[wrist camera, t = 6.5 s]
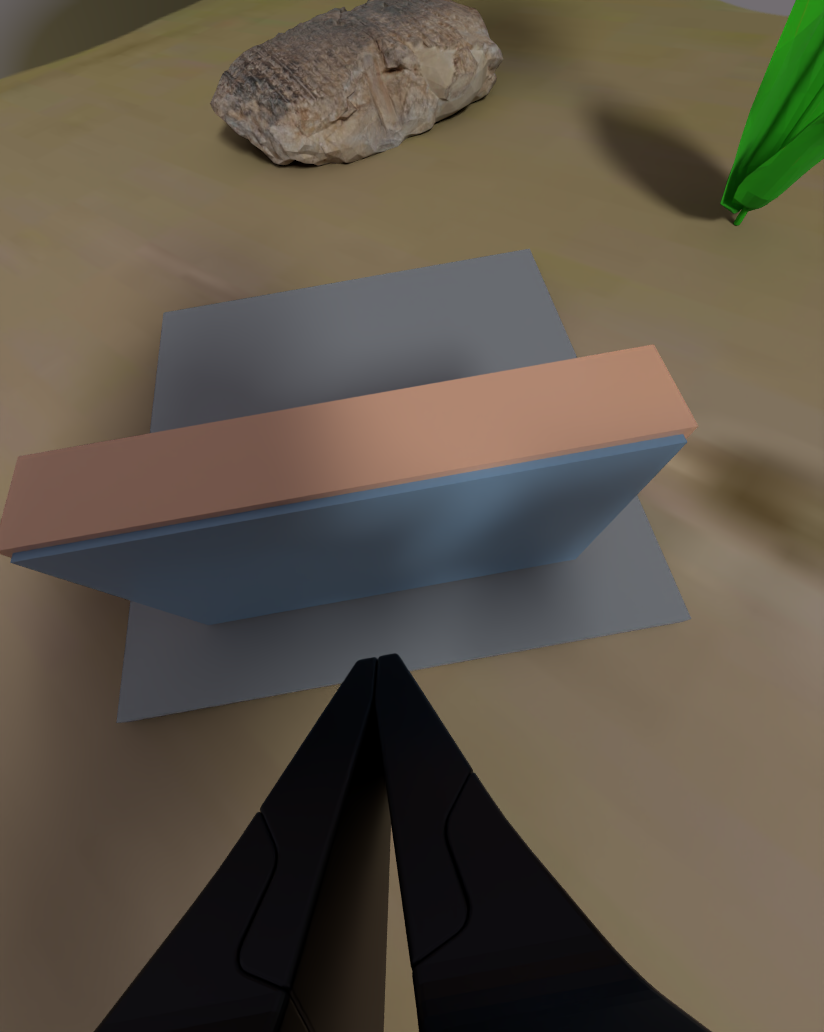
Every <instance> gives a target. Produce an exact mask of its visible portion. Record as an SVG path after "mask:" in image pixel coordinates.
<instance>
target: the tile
mask: <svg viewBox="0 0 824 1032" xmlns="http://www.w3.org/2000/svg"><path fill="white" fill-rule="evenodd" d="M697 427H698V424H697V423H696V421H695V419H694V417H693V415H692V413H691V412H690V410H689V408H688V406H687V404H686V402H685V401H684V399H683V397H682V395H681V393H680V392H679V390H678V388H677V386H676V384H675V382H674V381H673V379H672V377H671V375H670V373H669V371H668V370H667V368H666V366H665V364H664V362H663V360H662V359H661V357H660V355H659V353H658V351H657V349H656V348H655V346H654V344H653V345H648V346H642V347H636V348H631V349H625V350H619V351H614V352H608V353H602V354H597V355H591V356H585V357H580V358H574V359H568V360H563V361H557V362H551V363H546V364H540V365H534V366H529V367H523V368H517V369H512V370H506V371H500V372H495V373H489V374H483V375H478V376H472V377H466V378H461V379H455V380H449V381H444V382H438V383H432V384H427V385H421V386H415V387H410V388H404V389H398V390H393V391H387V392H381V393H376V394H370V395H364V396H359V397H353V398H347V399H342V400H336V401H330V402H325V403H319V404H313V405H308V406H302V407H296V408H291V409H285V410H279V411H274V412H268V413H262V414H257V415H251V416H245V417H240V418H234V419H228V420H223V421H217V422H211V423H206V424H200V425H194V426H189V427H183V428H177V429H172V430H166V431H160V432H155V433H149V434H143V435H138V436H132V437H126V438H121V439H115V440H109V441H104V442H98V443H92V444H87V445H81V446H75V447H70V448H64V449H58V450H53V451H47V452H41V453H36V454H30V455H24V456H19V457H18V459H17V463H16V466H15V470H14V474H13V478H12V481H11V485H10V489H9V493H8V496H7V500H6V504H5V508H4V511H3V515H2V519H1V523H0V554H1V555H5V556H8V557H11V562H10V563H13V564H16V565H19V566H23V567H26V568H29V569H32V570H35V571H38V572H42V573H45V574H48V575H51V576H54V577H57V578H61V579H64V580H67V581H70V582H73V583H76V584H80V585H83V586H86V587H89V588H92V589H95V590H99V591H102V592H105V593H108V594H111V595H114V596H117V597H121V598H124V599H127V600H130V601H133V602H136V603H140V604H143V605H146V606H149V607H152V608H155V609H159V610H162V611H165V612H168V613H171V614H174V615H178V616H181V617H184V618H187V619H190V620H193V621H197V622H200V623H203V624H206V625H213V624H218V623H224V622H229V621H235V620H240V619H246V618H252V617H257V616H263V615H268V614H274V613H279V612H285V611H290V610H296V609H302V608H307V607H313V606H318V605H324V604H329V603H335V602H341V601H346V600H352V599H357V598H363V597H368V596H374V595H380V594H385V593H391V592H396V591H402V590H407V589H413V588H419V587H424V586H430V585H435V584H441V583H446V582H452V581H458V580H463V579H469V578H474V577H480V576H485V575H491V574H497V573H502V572H508V571H513V570H519V569H524V568H530V567H536V566H541V565H547V564H552V563H558V562H563V561H569V560H574V559H576V558H577V557H578V556H579V555H580V554H581V553H582V552H583V551H584V550H585V549H586V548H587V547H588V546H589V545H590V544H591V543H592V541H593V540H594V539H595V538H596V537H597V536H598V535H599V534H600V533H601V532H602V531H603V530H604V529H605V528H606V527H607V526H608V525H609V524H610V523H611V522H612V521H613V519H614V518H615V517H616V516H617V515H618V514H619V513H620V512H621V511H622V510H623V509H624V508H625V507H626V506H627V505H628V504H629V503H630V502H631V501H632V500H633V499H634V498H635V496H636V495H637V494H638V493H639V492H640V491H641V490H642V489H643V488H644V487H645V486H646V485H647V484H648V483H649V482H650V481H651V480H652V479H653V478H654V477H655V476H656V474H657V473H658V472H659V471H660V470H661V469H662V468H663V467H664V466H665V465H666V464H667V463H668V462H669V461H670V460H671V459H672V458H673V457H674V456H675V455H676V454H677V452H678V451H679V450H680V449H681V448H682V447H683V446H684V445H685V444H686V443H687V440H686V439H687V438H688V437H689V436H690V435H691V434H692V433H693V431H694V430H695V429H696V428H697Z"/></svg>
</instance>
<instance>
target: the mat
mask: <svg viewBox="0 0 824 1032" xmlns="http://www.w3.org/2000/svg"><path fill="white" fill-rule="evenodd" d="M574 358H577V356H576V354H575V352H574V349H573V347H572V345H571V343H570V340H569V338H568V336H567V333H566V331H565V329H564V326H563V324H562V322H561V320H560V317H559V315H558V313H557V310H556V308H555V306H554V304H553V301H552V299H551V297H550V294H549V292H548V290H547V288H546V285H545V283H544V281H543V278H542V276H541V274H540V272H539V269H538V267H537V265H536V262H535V260H534V258H533V256H532V253H531V251H530V249H526V250H520V251H514V252H508V253H503V254H497V255H491V256H486V257H480V258H474V259H468V260H463V261H457V262H451V263H446V264H440V265H434V266H428V267H423V268H417V269H411V270H405V271H400V272H394V273H388V274H383V275H377V276H371V277H365V278H360V279H354V280H348V281H343V282H337V283H331V284H325V285H320V286H314V287H308V288H302V289H297V290H291V291H285V292H280V293H274V294H268V295H262V296H257V297H251V298H245V299H239V300H234V301H228V302H222V303H217V304H211V305H205V306H199V307H194V308H188V309H182V310H177V311H171V312H165V313H164V314H163V323H162V331H161V340H160V349H159V357H158V366H157V375H156V384H155V392H154V401H153V410H152V418H151V427H150V433H155V432H160V431H166V430H172V429H177V428H183V427H189V426H194V425H200V424H206V423H211V422H217V421H223V420H228V419H234V418H240V417H245V416H251V415H257V414H262V413H268V412H274V411H279V410H285V409H291V408H296V407H302V406H308V405H313V404H319V403H325V402H330V401H336V400H342V399H347V398H353V397H359V396H364V395H370V394H376V393H381V392H387V391H393V390H398V389H404V388H410V387H415V386H421V385H427V384H432V383H438V382H444V381H449V380H455V379H461V378H466V377H472V376H478V375H483V374H489V373H495V372H500V371H506V370H512V369H517V368H523V367H529V366H534V365H540V364H546V363H551V362H557V361H563V360H568V359H574ZM689 619H691V617H690V615H689V613H688V610H687V608H686V606H685V603H684V601H683V599H682V597H681V594H680V592H679V590H678V587H677V585H676V583H675V581H674V578H673V576H672V574H671V571H670V569H669V567H668V565H667V562H666V560H665V558H664V555H663V553H662V551H661V549H660V546H659V544H658V542H657V539H656V537H655V535H654V533H653V530H652V528H651V526H650V523H649V521H648V519H647V516H646V514H645V512H644V510H643V507H642V505H641V503H640V500H639V498H638V496H637V495H636V496H635V498H634V499H633V500H632V501H631V502H630V503H629V504H628V505H627V506H626V507H625V508H624V509H623V510H622V511H621V512H620V513H619V514H618V515H617V516H616V517H615V518H614V519H613V521H612V522H611V523H610V524H609V525H608V526H607V527H606V528H605V529H604V530H603V531H602V532H601V533H600V534H599V535H598V536H597V537H596V538H595V539H594V540H593V541H592V543H591V544H590V545H589V546H588V547H587V548H586V549H585V550H584V551H583V552H582V553H581V554H580V555H579V556H578V557H577V558H576V559H574V560H569V561H563V562H558V563H552V564H547V565H541V566H536V567H530V568H524V569H519V570H513V571H508V572H502V573H497V574H491V575H485V576H480V577H474V578H469V579H463V580H458V581H452V582H446V583H441V584H435V585H430V586H424V587H419V588H413V589H407V590H402V591H396V592H391V593H385V594H380V595H374V596H368V597H363V598H357V599H352V600H346V601H341V602H335V603H329V604H324V605H318V606H313V607H307V608H302V609H296V610H290V611H285V612H279V613H274V614H268V615H263V616H257V617H252V618H246V619H240V620H235V621H229V622H224V623H218V624H213V625H206V624H203V623H200V622H197V621H193V620H190V619H187V618H184V617H181V616H178V615H174V614H171V613H168V612H165V611H162V610H159V609H155V608H152V607H149V606H146V605H143V604H140V603H136V602H133V601H130V610H129V619H128V627H127V636H126V645H125V653H124V662H123V671H122V679H121V688H120V697H119V706H118V714H117V723H121V722H131V721H137V720H142V719H148V718H153V717H159V716H164V715H170V714H175V713H181V712H186V711H192V710H198V709H203V708H209V707H214V706H220V705H225V704H231V703H236V702H242V701H247V700H253V699H258V698H264V697H269V696H275V695H281V694H286V693H292V692H297V691H303V690H308V689H314V688H319V687H325V686H330V685H336V684H341V683H343V681H344V679H345V678H346V676H347V675H348V673H349V672H350V670H351V669H352V667H353V666H354V664H355V663H356V662H357V661H358V660H360V659H366V658H371V657H376V658H377V659H378V658H379V657H380V656H382V655H388V654H393V653H397V654H398V655H399V656H400V658H401V659H402V661H403V662H404V664H405V665H406V667H407V668H408V670H409V671H413V670H419V669H424V668H430V667H435V666H441V665H446V664H452V663H457V662H463V661H469V660H474V659H480V658H485V657H491V656H496V655H502V654H507V653H513V652H518V651H524V650H529V649H535V648H540V647H546V646H551V645H557V644H563V643H568V642H574V641H579V640H585V639H590V638H596V637H601V636H607V635H612V634H618V633H623V632H629V631H634V630H640V629H645V628H651V627H657V626H662V625H668V624H673V623H679V622H683V621H686V620H689Z"/></svg>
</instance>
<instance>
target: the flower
mask: <svg viewBox="0 0 824 1032" xmlns="http://www.w3.org/2000/svg"><path fill="white" fill-rule="evenodd" d="M823 159H824V0H796V1H795V4H794V6H793V8H792V11H791V13H790V15H789V18H788V20H787V23H786V25H785V27H784V30H783V32H782V34H781V37H780V39H779V42H778V44H777V46H776V49H775V51H774V53H773V56H772V58H771V61H770V63H769V66H768V68H767V71H766V73H765V76H764V78H763V80H762V83H761V85H760V88H759V90H758V93H757V95H756V98H755V100H754V103H753V105H752V108H751V110H750V113H749V116H748V119H747V122H746V125H745V128H744V131H743V134H742V137H741V140H740V144H739V147H738V151H737V154H736V158H735V161H734V164H733V167H732V170H731V172H730V175H729V177H728V180H727V184H726V187H725V191H724V194H723V197H722V200H721V203H720V204H721V205H723V206H724V207H725V208H727V209H728V210H729V211H731V212H732V213H733V214H734V213H737V212H739V211H740V210H741V209H742V210H741V211H740V213H739V215H738V216H737V218H736V220H735V221H734V225H740V223H741V222H742V220H743V219H744V217H745V215H746V214H747V212H748V211H751V210H755V209H758V208H761V207H763V206H765V205H767V204H768V203H769V202H771V201H772V200H774V199H775V198H777V197H778V196H779V195H781V194H782V193H783V192H784V191H785V190H786V189H788V188H789V187H790V186H791V185H792V184H793V183H794V182H796V181H797V180H798V179H799V178H800V177H801V176H802V175H804V174H805V173H806V172H807V171H808V170H810V169H811V168H812V167H813V166H814V165H816V164H817V163H818V162H820V161H821V160H823Z"/></svg>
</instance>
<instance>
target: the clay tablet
mask: <svg viewBox="0 0 824 1032" xmlns="http://www.w3.org/2000/svg"><path fill="white" fill-rule="evenodd" d="M502 60H503V57H502V53H501V50H500V49H499V48H498V46H497V45H496V44H495V43H494V42H493V41H492V40H491V39H490V37H489V34H488V31H487V28H486V26H485V24H484V21H483V19H482V17H481V15H480V13H479V12H478V11H477V10H476V9H475V8H471V7H468V6H464V5H461V4H458V3H455V2H453V1H451V0H368V1H367V3H365V4H363V5H360V6H357V7H355V8H354V9H353V10H351V11H346V9H345V7H343V8H341V9H339V8H334V9H332V10H330V11H328V12H327V13H325V14H320V15H317V16H316V17H314V18H312V19H311V20H309V21H307V22H304V23H299V24H298V25H297V26H295V27H294V28H292V29H289V30H288V31H286V32H285V33H278V34H277V35H276V37H274V38H272V39H271V40H267V41H266V42H265V43H263V44H260V45H256V46H254V47H252V48H250V49H248V50H247V51H245V52H243V53H242V54H241V55H240V56H239V57H238V58H237V59H236V60H235V61H234V62H233V63H232V64H231V66H230V68H229V70H227V71H225V72H224V73H223V74H222V77H221V79H220V81H219V84H218V86H217V89H216V92H215V94H214V96H213V99H212V101H211V103H210V104H211V106H212V109H213V110H214V112H215V113H216V114H217V115H218V116H219V117H220V118H222V119H223V120H224V121H225V122H226V123H227V124H228V125H229V126H230V127H231V128H232V130H233V131H234V132H236V133H237V134H238V135H240V136H242V137H244V138H246V139H248V140H250V142H251V143H252V144H253V145H255V146H256V147H258V148H259V149H260V150H262V151H263V152H264V153H265V154H266V155H267V156H268V157H269V158H270V159H271V160H272V162H273V163H276V164H279V165H287V164H289V163H291V162H293V161H294V160H297V161H300V162H303V163H309V164H315V165H318V166H319V165H323V164H327V163H339V164H340V163H343V162H346V163H348V162H354V161H357V160H360V159H363V158H365V157H369V156H372V155H374V154H376V153H379V152H383V151H386V150H388V149H391V148H394V147H397V146H399V145H400V144H401V143H402V141H403V140H405V139H406V138H408V137H411V136H415V135H417V134H420V133H423V132H425V131H427V130H429V129H430V128H432V126H433V125H434V123H435V122H437V121H439V120H442V119H444V118H446V117H448V116H450V115H452V114H454V113H456V112H457V111H459V110H460V109H462V108H463V107H465V106H467V105H468V104H470V103H472V102H474V101H477V100H479V99H480V98H482V97H484V96H485V95H487V94H488V93H489V91H490V89H491V88H492V87H493V85H494V84H495V82H496V79H497V78H496V75H495V73H494V72H495V70H496V69H497V67H498V66H499V64H500V63H501V62H502Z"/></svg>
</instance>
